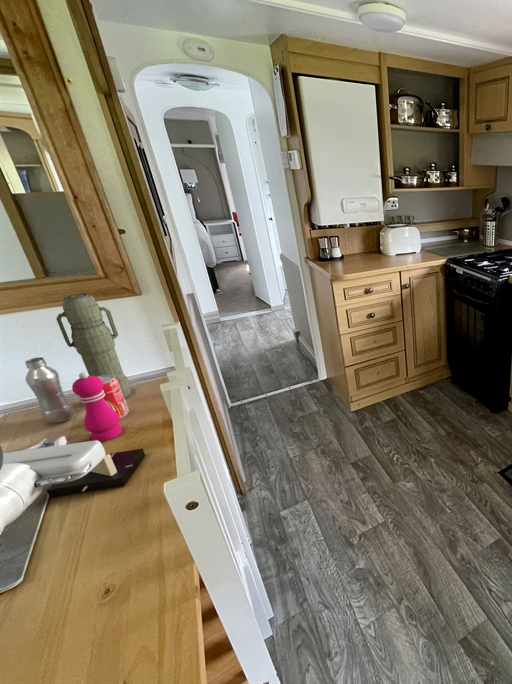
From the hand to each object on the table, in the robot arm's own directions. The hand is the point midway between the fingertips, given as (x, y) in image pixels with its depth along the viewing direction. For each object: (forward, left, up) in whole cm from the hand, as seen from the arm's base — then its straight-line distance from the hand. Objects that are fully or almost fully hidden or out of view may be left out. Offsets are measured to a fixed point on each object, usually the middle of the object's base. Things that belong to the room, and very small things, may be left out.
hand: (56, 440), depth 74 cm
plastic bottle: (-16, +50, -20) cm, 57 cm away
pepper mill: (-3, +34, -20) cm, 40 cm away
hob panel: (-1, +13, -20) cm, 24 cm away
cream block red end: (0, +13, -17) cm, 21 cm away
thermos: (-5, +59, -20) cm, 63 cm away
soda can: (-3, +44, -20) cm, 49 cm away
